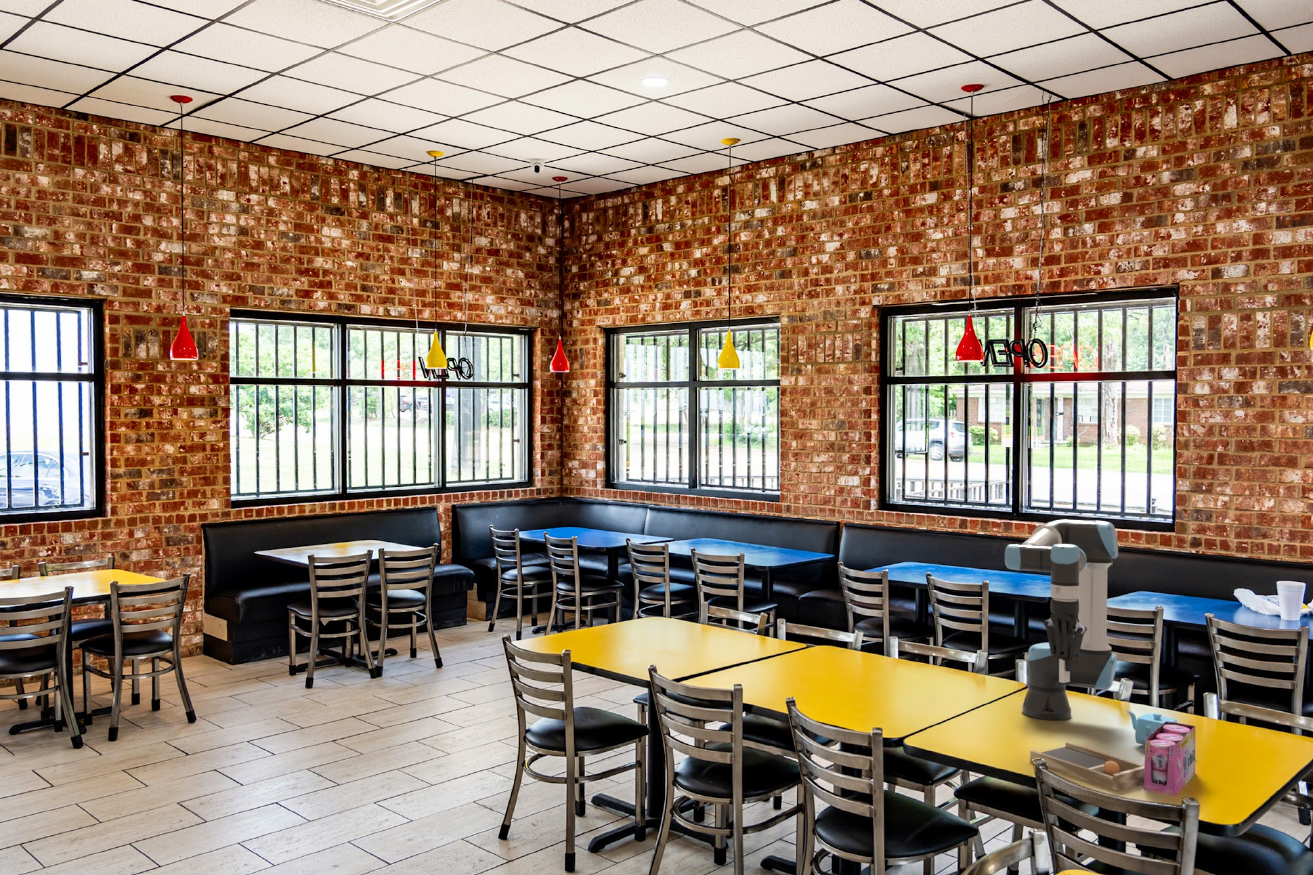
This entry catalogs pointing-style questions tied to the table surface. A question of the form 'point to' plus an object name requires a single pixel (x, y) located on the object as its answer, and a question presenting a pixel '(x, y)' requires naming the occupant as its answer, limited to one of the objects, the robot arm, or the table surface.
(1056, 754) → the mat
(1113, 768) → the ball
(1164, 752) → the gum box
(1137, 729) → the teapot
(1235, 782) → the table surface
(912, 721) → the table surface
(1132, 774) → the lane rails
